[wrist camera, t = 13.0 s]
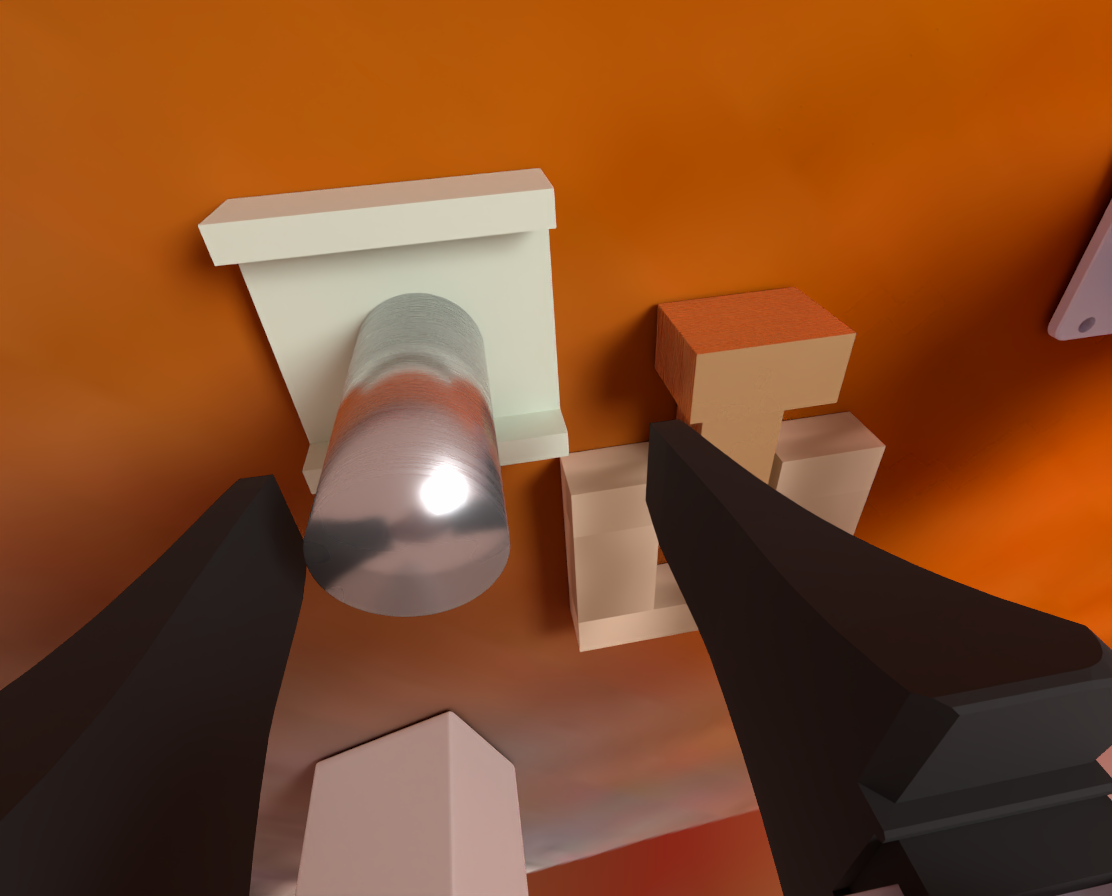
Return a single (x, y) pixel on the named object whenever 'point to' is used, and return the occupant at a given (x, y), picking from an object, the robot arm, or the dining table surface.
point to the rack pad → (404, 288)
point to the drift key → (749, 366)
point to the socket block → (630, 540)
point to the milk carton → (415, 818)
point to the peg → (411, 468)
